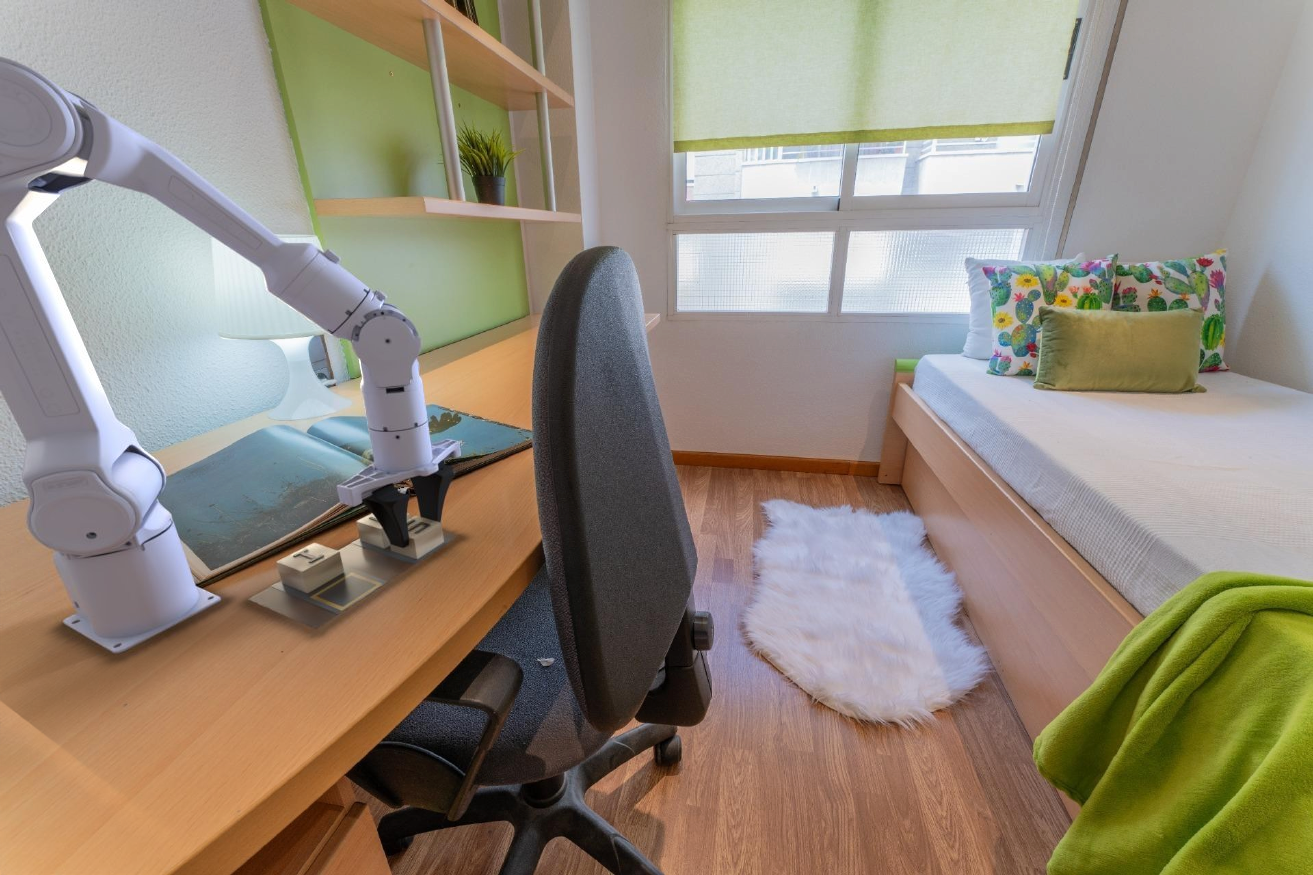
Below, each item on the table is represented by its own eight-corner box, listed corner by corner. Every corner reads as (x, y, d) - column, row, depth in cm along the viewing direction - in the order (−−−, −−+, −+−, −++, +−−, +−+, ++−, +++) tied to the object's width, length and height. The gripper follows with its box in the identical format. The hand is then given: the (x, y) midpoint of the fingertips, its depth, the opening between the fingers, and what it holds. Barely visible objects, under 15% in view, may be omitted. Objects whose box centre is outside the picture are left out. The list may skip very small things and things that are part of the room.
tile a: (360, 540, 61) (355, 520, 60) (388, 525, 64) (385, 505, 63) (384, 548, 59) (380, 528, 58) (412, 532, 63) (409, 512, 62)
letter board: (248, 602, 51) (247, 598, 51) (399, 519, 66) (399, 516, 66) (316, 632, 47) (315, 628, 47) (460, 538, 63) (459, 534, 62)
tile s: (391, 550, 59) (387, 530, 58) (418, 534, 62) (415, 514, 61) (417, 559, 58) (413, 538, 57) (444, 541, 61) (441, 521, 60)
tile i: (281, 583, 53) (275, 560, 52) (319, 562, 57) (313, 541, 56) (307, 593, 52) (301, 570, 51) (344, 572, 55) (339, 550, 54)
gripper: (364, 452, 47) (388, 578, 52) (476, 409, 59) (487, 514, 64) (312, 439, 50) (339, 560, 54) (429, 401, 62) (443, 502, 67)
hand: (416, 534), depth 59 cm, fingers open, 4 cm apart
